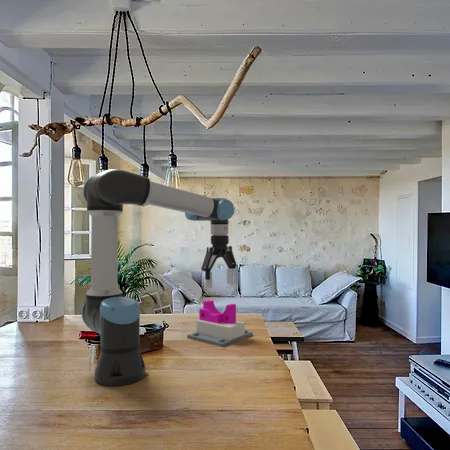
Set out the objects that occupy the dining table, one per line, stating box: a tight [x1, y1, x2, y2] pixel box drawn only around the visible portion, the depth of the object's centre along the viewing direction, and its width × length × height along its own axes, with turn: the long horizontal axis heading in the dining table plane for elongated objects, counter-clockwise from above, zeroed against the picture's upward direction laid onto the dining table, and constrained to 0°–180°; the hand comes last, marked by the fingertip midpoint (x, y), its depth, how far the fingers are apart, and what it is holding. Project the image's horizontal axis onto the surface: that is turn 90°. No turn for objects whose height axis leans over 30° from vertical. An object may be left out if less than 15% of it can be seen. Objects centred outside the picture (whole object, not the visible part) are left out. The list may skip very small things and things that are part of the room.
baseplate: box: [186, 319, 254, 348], centre depth 156 cm, size 20×19×6 cm
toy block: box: [198, 299, 237, 324], centre depth 158 cm, size 15×6×8 cm, turn 51°
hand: (219, 285), depth 156 cm, fingers open, 13 cm apart
